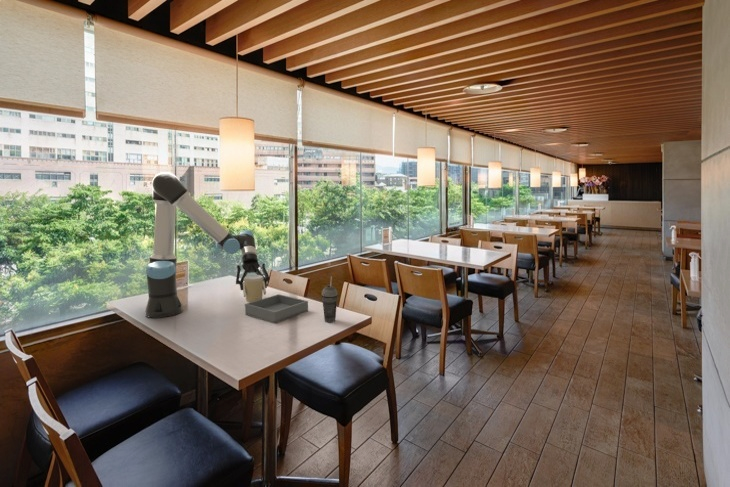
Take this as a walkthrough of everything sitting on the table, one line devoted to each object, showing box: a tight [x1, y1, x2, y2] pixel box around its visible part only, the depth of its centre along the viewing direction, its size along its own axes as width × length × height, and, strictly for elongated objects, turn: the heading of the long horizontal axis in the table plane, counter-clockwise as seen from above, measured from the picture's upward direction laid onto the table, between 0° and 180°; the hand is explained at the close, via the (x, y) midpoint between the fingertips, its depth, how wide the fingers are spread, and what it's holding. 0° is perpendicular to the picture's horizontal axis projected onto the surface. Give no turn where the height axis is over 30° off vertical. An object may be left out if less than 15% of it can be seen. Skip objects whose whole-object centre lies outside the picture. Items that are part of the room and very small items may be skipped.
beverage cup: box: [320, 275, 339, 324], centre depth 162 cm, size 7×7×20 cm
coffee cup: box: [244, 274, 264, 303], centre depth 185 cm, size 9×9×12 cm
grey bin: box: [244, 293, 309, 324], centre depth 173 cm, size 20×20×5 cm
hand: (254, 294), depth 183 cm, fingers closed on coffee cup, 9 cm apart
